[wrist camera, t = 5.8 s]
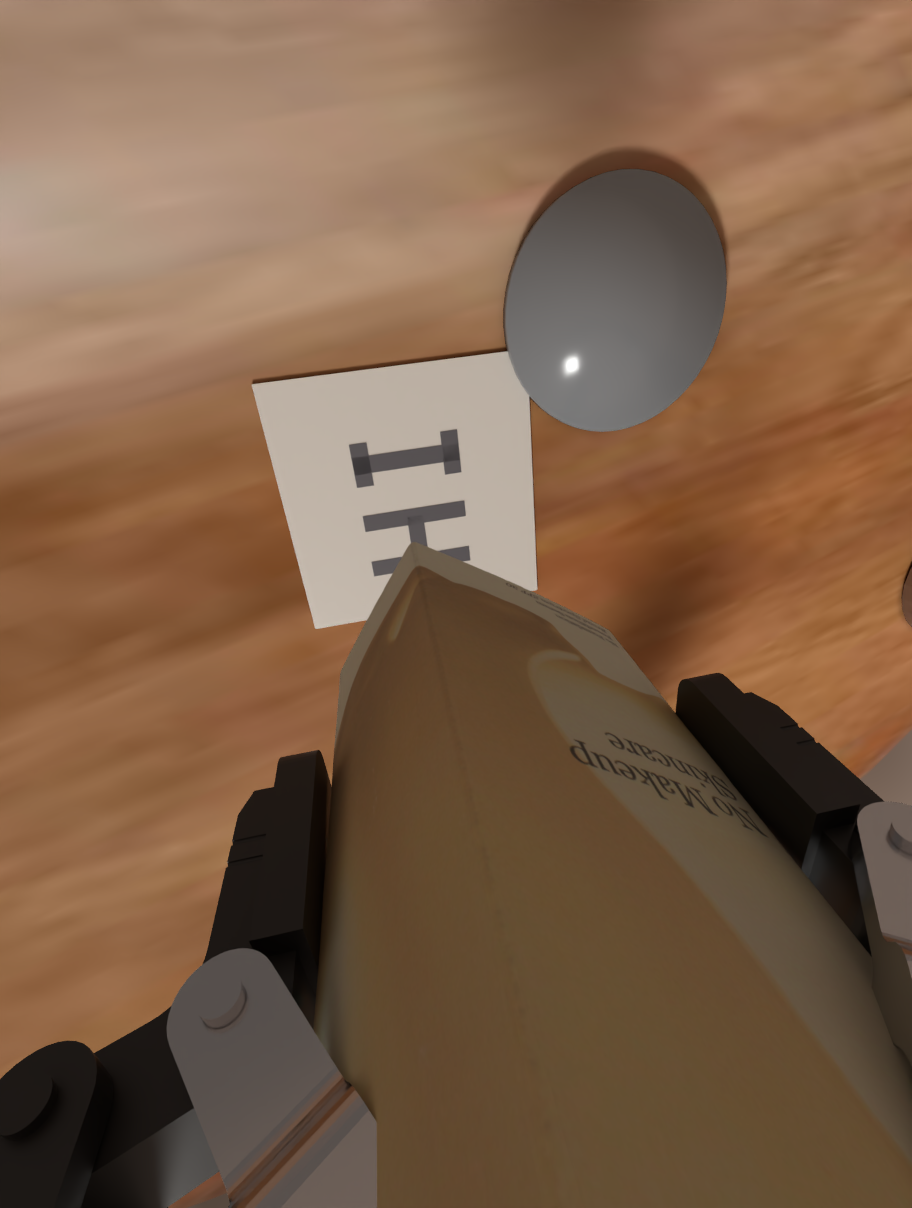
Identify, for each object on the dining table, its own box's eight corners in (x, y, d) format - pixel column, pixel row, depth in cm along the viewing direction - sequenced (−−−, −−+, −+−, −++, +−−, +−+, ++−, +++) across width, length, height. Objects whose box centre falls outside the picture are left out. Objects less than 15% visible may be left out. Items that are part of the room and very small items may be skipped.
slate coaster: (731, 161, 23) (740, 157, 22) (706, 414, 27) (713, 416, 27) (495, 184, 22) (498, 181, 21) (510, 443, 26) (513, 445, 26)
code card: (526, 348, 25) (527, 348, 25) (536, 589, 30) (537, 590, 30) (251, 384, 23) (251, 384, 23) (315, 628, 29) (315, 629, 29)
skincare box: (612, 625, 15) (1280, 1392, 4) (529, 744, 16) (871, 1543, 6) (398, 527, 13) (659, 1634, 2) (323, 675, 14) (239, 1785, 3)
